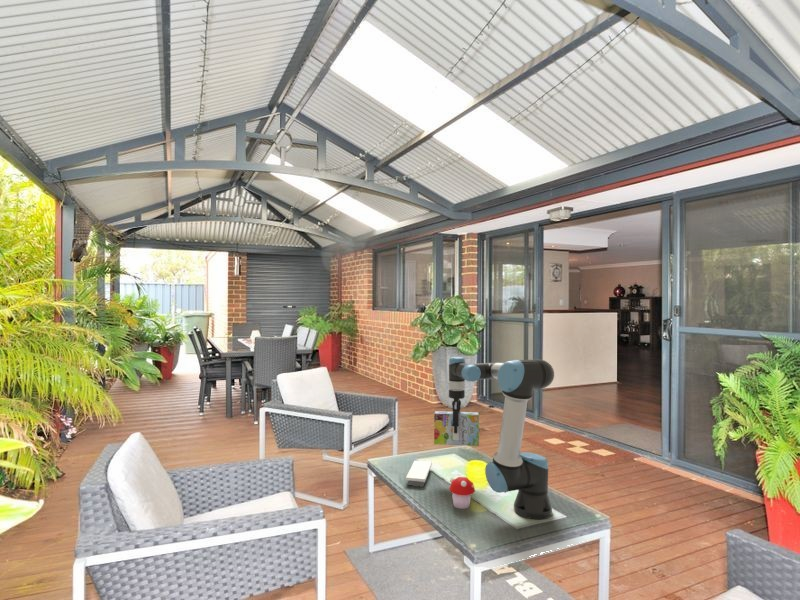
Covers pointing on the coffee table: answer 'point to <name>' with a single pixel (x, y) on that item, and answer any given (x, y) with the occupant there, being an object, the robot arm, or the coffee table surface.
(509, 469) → the robot arm
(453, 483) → the mushroom
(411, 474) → the stand
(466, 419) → the snack box
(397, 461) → the coffee table surface
